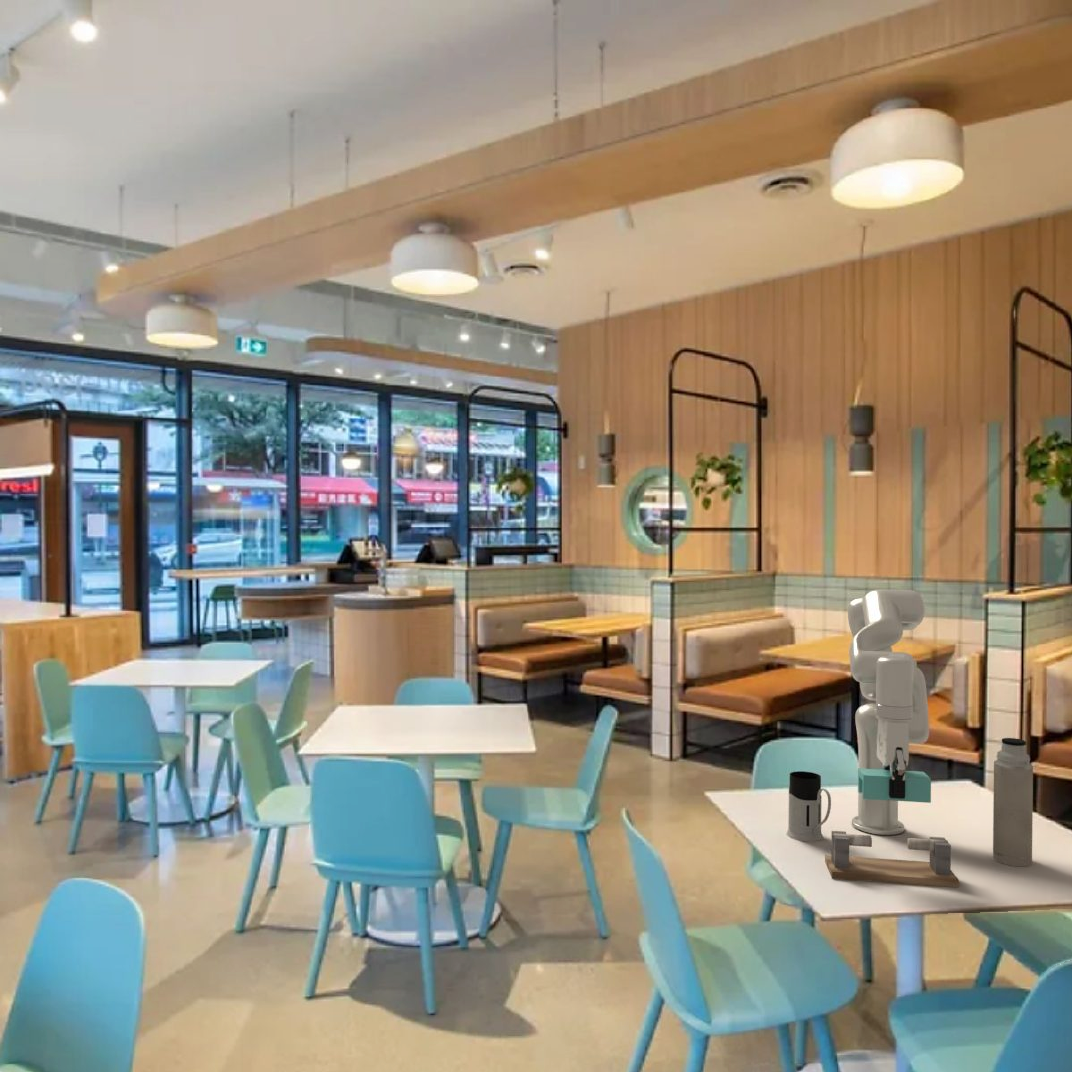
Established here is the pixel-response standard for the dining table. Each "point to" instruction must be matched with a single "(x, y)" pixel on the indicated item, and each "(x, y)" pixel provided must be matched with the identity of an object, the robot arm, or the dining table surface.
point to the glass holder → (806, 806)
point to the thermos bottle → (1013, 804)
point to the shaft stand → (891, 862)
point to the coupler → (877, 785)
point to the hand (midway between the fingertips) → (893, 792)
